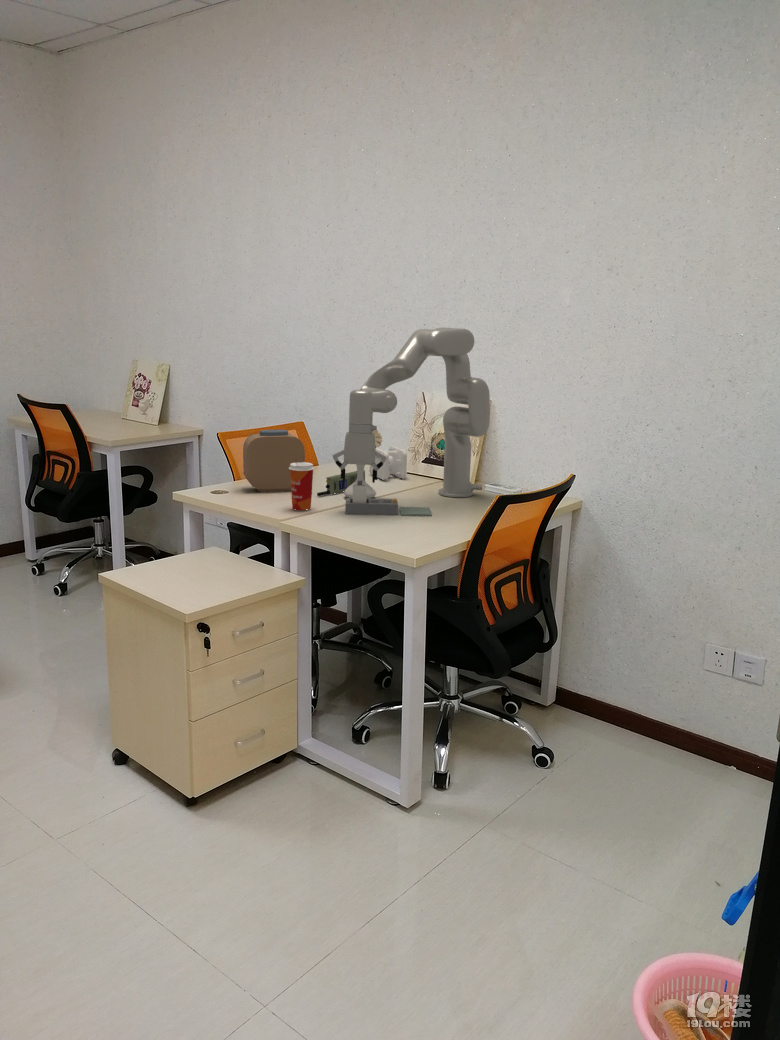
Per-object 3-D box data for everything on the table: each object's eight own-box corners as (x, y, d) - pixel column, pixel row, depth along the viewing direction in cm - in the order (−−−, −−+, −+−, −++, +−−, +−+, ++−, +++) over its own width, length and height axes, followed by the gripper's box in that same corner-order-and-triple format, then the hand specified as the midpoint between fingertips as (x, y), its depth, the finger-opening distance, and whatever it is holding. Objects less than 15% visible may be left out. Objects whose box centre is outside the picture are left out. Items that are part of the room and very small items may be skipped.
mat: (429, 509, 278) (429, 507, 278) (431, 516, 269) (432, 514, 268) (399, 508, 278) (399, 506, 278) (401, 515, 268) (401, 514, 268)
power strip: (396, 509, 277) (397, 496, 276) (397, 515, 269) (398, 502, 268) (345, 508, 276) (345, 495, 275) (345, 514, 268) (345, 501, 267)
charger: (366, 510, 275) (366, 479, 272) (366, 513, 270) (366, 482, 268) (352, 509, 275) (353, 479, 272) (352, 513, 270) (352, 482, 268)
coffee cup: (285, 506, 276) (285, 462, 272) (309, 505, 279) (309, 461, 275) (293, 512, 268) (293, 467, 265) (317, 511, 272) (317, 465, 268)
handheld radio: (366, 488, 310) (321, 498, 290) (359, 487, 311) (314, 497, 292) (366, 470, 308) (321, 479, 289) (359, 469, 310) (314, 479, 291)
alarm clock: (299, 485, 309) (299, 427, 304) (304, 491, 300) (304, 431, 295) (243, 488, 302) (242, 429, 297) (247, 493, 294) (246, 432, 288)
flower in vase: (345, 501, 285) (346, 429, 279) (342, 494, 296) (343, 424, 290) (383, 501, 287) (384, 429, 281) (378, 494, 298) (380, 424, 292)
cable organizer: (407, 480, 324) (408, 451, 321) (382, 482, 319) (383, 452, 316) (391, 473, 337) (392, 445, 334) (367, 475, 333) (368, 446, 330)
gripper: (387, 428, 270) (385, 480, 274) (333, 426, 269) (332, 478, 273) (387, 431, 262) (385, 484, 266) (333, 429, 262) (331, 482, 266)
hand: (358, 481), depth 270 cm, fingers open, 9 cm apart
